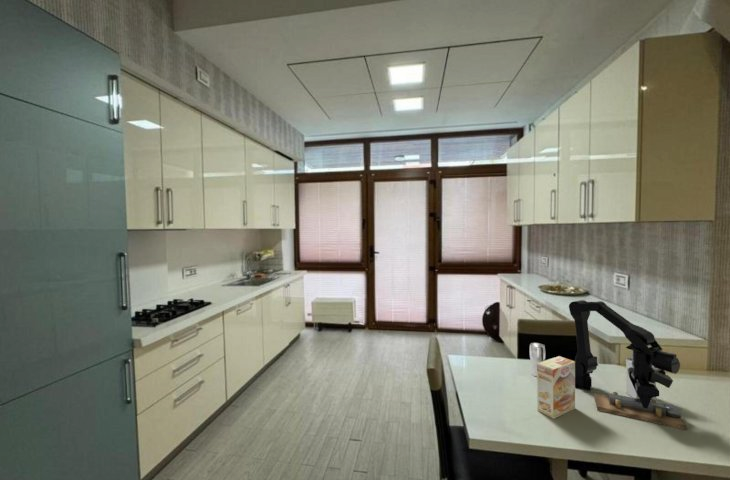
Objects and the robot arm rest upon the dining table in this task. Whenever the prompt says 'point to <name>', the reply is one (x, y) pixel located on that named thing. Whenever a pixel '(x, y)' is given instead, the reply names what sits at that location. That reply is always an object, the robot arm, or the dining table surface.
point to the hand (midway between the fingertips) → (642, 402)
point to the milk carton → (629, 385)
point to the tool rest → (636, 412)
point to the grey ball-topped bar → (637, 405)
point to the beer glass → (536, 356)
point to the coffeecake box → (556, 386)
